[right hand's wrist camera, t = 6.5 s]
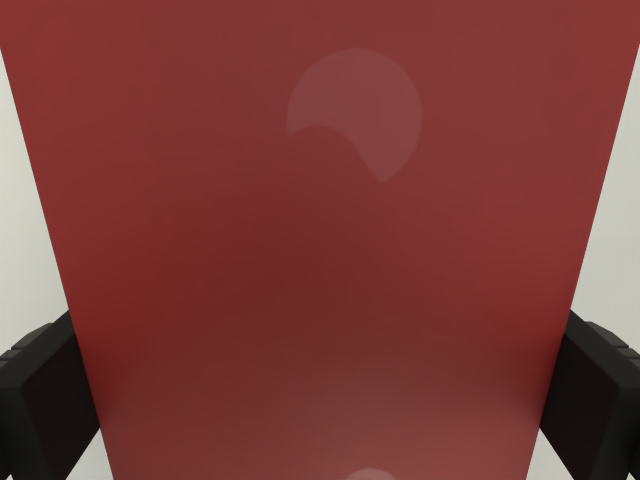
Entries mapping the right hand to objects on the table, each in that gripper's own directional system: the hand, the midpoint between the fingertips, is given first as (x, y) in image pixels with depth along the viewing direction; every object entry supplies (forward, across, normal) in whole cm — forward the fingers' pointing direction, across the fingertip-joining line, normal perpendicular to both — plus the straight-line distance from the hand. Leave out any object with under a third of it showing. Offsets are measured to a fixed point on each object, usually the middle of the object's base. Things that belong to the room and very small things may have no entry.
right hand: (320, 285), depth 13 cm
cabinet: (+7, 0, -4) cm, 8 cm away
